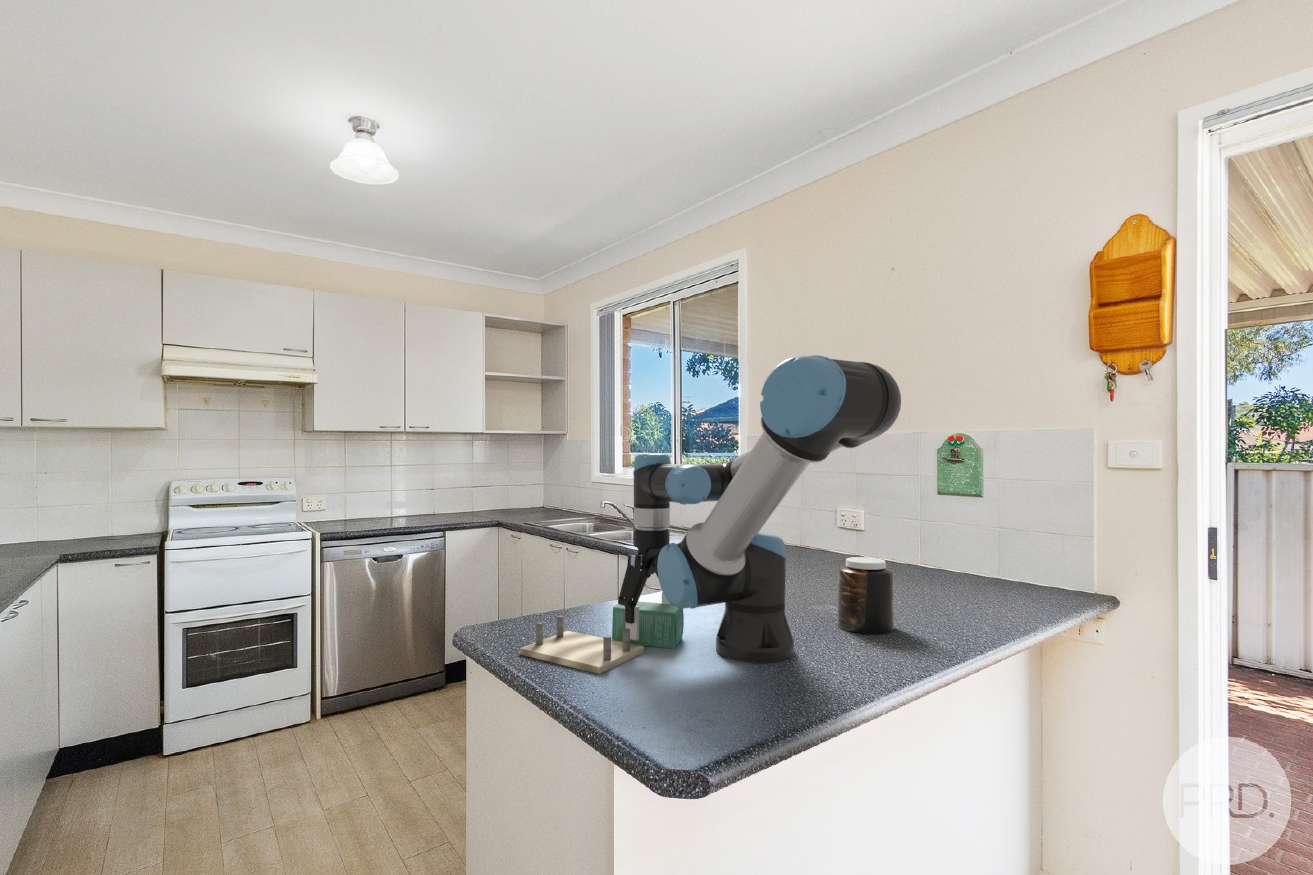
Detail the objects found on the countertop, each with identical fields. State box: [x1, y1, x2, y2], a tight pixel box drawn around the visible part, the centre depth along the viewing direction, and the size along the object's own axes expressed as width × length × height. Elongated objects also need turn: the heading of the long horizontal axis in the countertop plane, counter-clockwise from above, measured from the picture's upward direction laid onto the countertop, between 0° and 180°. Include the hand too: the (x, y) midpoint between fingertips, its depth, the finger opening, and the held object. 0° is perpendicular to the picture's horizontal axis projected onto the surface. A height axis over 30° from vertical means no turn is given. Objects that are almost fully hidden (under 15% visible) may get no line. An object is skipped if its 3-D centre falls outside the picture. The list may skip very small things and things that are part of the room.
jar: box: [837, 556, 895, 635], centre depth 141 cm, size 12×12×15 cm
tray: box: [519, 615, 645, 675], centre depth 122 cm, size 19×14×5 cm
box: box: [611, 601, 685, 650], centre depth 130 cm, size 7×14×8 cm, turn 76°
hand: (650, 630), depth 131 cm, fingers open, 13 cm apart
